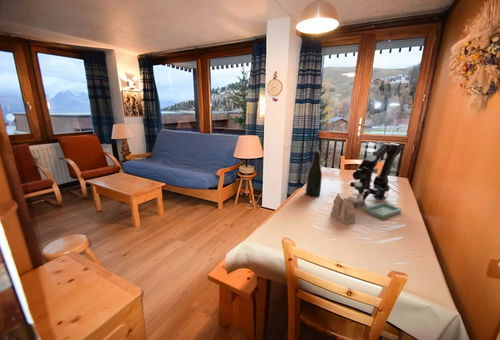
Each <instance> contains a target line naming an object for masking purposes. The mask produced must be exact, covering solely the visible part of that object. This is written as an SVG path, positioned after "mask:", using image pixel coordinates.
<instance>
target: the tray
mask: <svg viewBox="0 0 500 340" xmlns="http://www.w3.org/2000/svg"><path fill="white" fill-rule="evenodd" d="M401 211H402V208H400V207H398V206H396V205H392V204H391V203H390V204H389V203H387V202H384V201H383V202H380V203H375V204H373V205H371V206H367V207H365V209H364V212H365V213H367V214H369V215H372V216H373V217H376V218H377V219H380V220H385V219H386V218H389V217H393V216H395V215H397V214H400V213H401Z"/></svg>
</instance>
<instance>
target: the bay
mask: <svg viewBox="0 0 500 340" xmlns="http://www.w3.org/2000/svg"><path fill="white" fill-rule="evenodd" d="M345 199H347V202H352V203H353V205H354V209H356V208H357V209H358V208H360V207H363V204H364V202H363V201H360V202H357V203H355V202H353V201H350V200H349V197H345V198H343V200H344V201H345Z"/></svg>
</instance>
